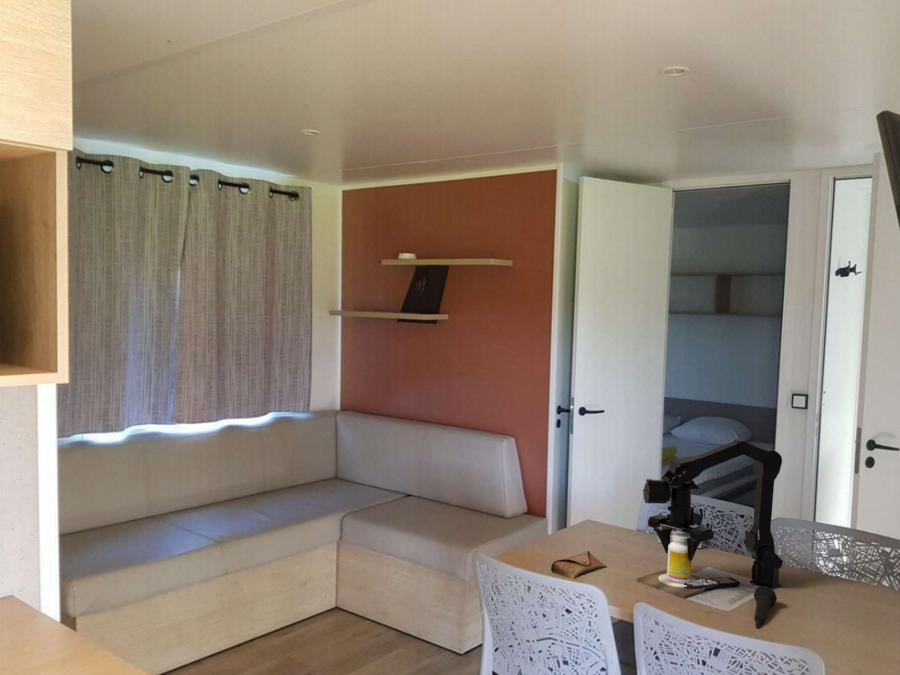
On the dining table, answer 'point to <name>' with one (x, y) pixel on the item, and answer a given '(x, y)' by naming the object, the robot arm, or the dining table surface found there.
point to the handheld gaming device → (678, 533)
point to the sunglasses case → (577, 565)
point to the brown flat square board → (670, 584)
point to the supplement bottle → (678, 560)
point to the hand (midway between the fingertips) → (679, 556)
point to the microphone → (763, 603)
